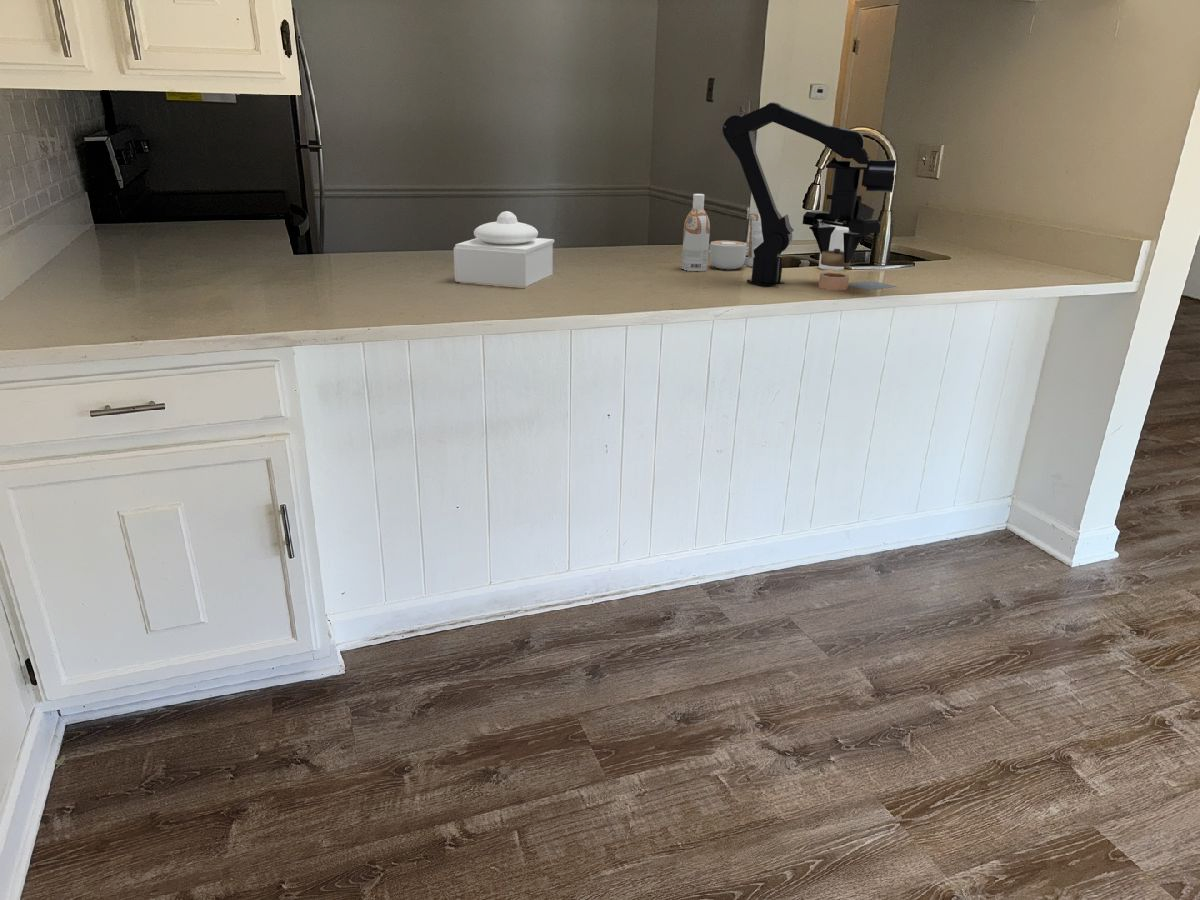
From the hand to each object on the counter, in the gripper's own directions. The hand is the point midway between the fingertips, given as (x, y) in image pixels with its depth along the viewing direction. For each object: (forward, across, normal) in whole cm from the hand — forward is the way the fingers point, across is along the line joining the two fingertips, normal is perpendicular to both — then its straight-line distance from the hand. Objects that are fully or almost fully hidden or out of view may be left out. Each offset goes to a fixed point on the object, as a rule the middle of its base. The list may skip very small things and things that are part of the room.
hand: (835, 260), depth 196 cm
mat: (+6, -2, -10) cm, 12 cm away
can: (+7, +20, -20) cm, 29 cm away
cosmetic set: (+7, +33, +5) cm, 34 cm away
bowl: (+6, 0, 0) cm, 7 cm away
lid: (+1, 0, 0) cm, 1 cm away
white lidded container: (+7, +43, +63) cm, 77 cm away
